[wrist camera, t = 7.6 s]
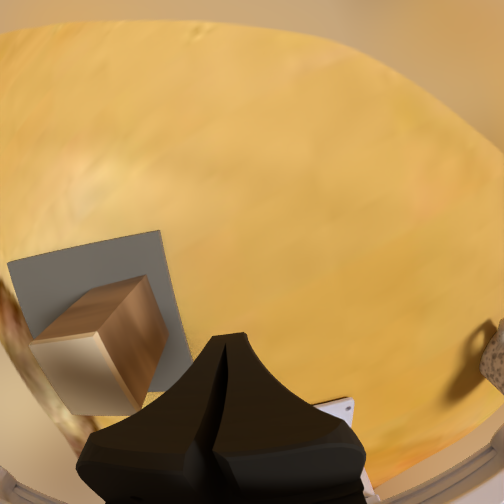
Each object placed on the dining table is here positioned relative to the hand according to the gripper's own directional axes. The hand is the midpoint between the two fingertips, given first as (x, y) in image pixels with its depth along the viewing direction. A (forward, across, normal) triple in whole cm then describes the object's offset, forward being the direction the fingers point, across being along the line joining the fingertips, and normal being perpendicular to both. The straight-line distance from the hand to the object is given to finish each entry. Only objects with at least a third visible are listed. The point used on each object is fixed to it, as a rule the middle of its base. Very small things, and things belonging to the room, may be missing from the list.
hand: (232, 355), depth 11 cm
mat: (+6, +10, +1) cm, 12 cm away
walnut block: (+6, +6, 0) cm, 9 cm away
